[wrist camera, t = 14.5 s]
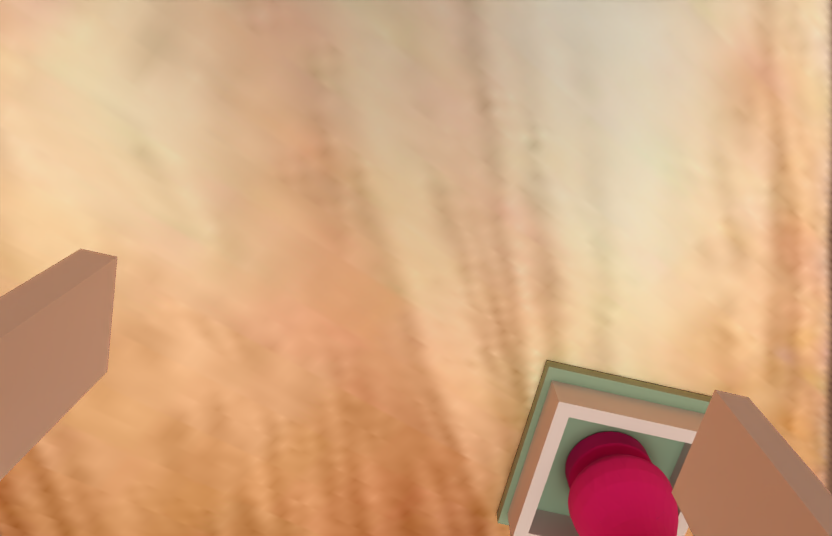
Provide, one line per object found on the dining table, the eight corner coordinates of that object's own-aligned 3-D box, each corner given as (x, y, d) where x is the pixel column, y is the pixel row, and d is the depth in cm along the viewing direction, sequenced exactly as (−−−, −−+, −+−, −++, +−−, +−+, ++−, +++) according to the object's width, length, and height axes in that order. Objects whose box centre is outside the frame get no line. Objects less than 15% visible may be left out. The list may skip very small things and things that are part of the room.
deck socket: (547, 360, 49) (555, 387, 46) (717, 398, 50) (740, 427, 46) (496, 514, 54) (501, 550, 50) (653, 547, 55) (669, 585, 51)
